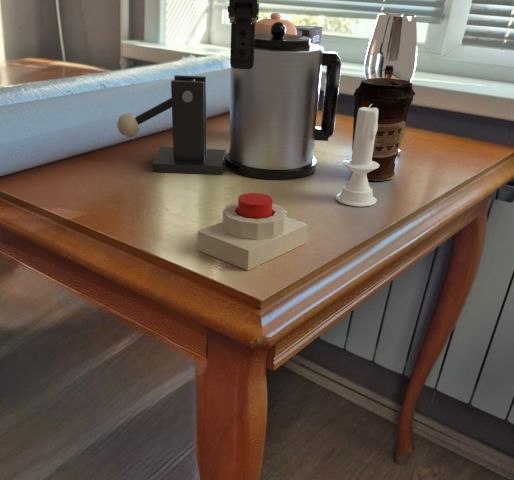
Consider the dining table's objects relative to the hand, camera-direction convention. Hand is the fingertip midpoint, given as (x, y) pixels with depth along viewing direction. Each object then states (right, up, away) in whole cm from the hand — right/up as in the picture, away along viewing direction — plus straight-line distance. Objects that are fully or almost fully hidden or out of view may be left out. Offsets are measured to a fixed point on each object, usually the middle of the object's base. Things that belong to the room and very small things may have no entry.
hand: (241, 67), depth 58 cm
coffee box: (+8, +17, +60) cm, 63 cm away
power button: (+1, -13, +6) cm, 14 cm away
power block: (+1, -16, +8) cm, 18 cm away
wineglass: (+21, +6, +43) cm, 49 cm away
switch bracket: (-8, +1, +32) cm, 34 cm away
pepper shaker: (+3, +9, +46) cm, 47 cm away
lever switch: (-12, +6, +29) cm, 32 cm away
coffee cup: (+18, -2, +32) cm, 37 cm away
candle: (+15, -7, +22) cm, 28 cm away
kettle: (+5, +1, +34) cm, 34 cm away
